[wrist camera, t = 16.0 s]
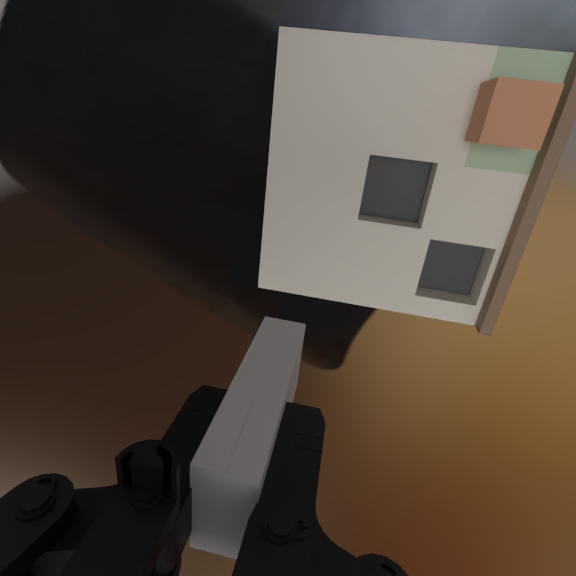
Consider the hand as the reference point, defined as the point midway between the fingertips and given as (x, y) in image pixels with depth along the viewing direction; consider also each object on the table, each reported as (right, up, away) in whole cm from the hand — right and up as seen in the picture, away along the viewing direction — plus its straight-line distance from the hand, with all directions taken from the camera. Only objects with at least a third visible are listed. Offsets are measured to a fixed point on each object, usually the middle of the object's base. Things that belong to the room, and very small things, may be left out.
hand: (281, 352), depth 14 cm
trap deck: (+10, +11, +20) cm, 25 cm away
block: (+16, +15, +14) cm, 27 cm away
